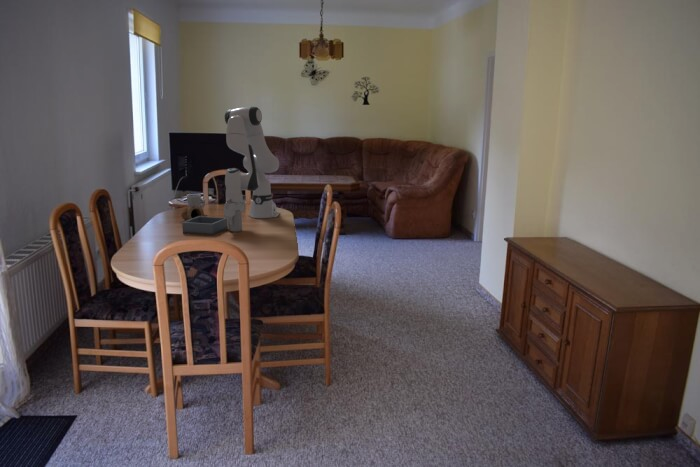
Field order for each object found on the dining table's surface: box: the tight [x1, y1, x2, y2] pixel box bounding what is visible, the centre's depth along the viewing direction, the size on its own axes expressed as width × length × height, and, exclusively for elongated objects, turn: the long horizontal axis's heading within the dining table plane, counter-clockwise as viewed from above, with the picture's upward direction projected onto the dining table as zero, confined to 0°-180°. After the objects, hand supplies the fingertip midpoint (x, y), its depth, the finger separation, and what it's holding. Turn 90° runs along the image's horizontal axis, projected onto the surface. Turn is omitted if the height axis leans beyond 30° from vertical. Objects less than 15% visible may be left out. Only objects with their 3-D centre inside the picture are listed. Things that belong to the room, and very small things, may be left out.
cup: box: [186, 193, 206, 209], centre depth 359 cm, size 10×9×12 cm
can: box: [227, 209, 243, 233], centre depth 311 cm, size 8×8×12 cm
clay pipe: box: [180, 206, 205, 222], centre depth 335 cm, size 19×11×15 cm
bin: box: [181, 215, 228, 236], centre depth 311 cm, size 18×18×6 cm
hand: (235, 222), depth 311 cm, fingers open, 8 cm apart
